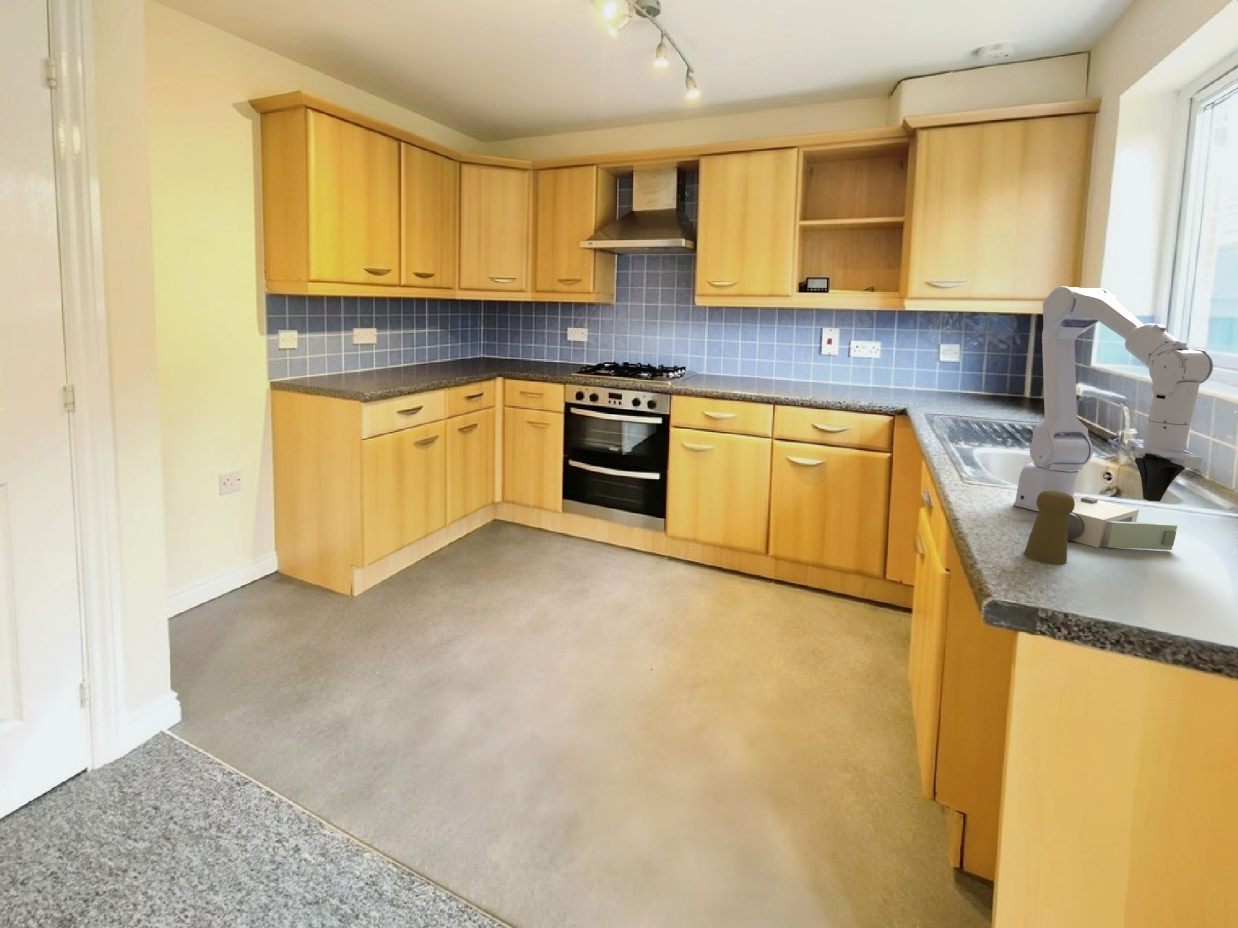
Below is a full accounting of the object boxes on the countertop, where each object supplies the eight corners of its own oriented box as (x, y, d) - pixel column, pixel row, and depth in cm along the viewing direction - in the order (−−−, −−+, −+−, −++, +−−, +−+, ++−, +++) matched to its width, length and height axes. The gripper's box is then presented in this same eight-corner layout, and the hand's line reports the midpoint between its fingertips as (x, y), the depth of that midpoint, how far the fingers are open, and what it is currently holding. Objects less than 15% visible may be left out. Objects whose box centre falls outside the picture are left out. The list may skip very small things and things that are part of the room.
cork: (1027, 548, 117) (1039, 485, 115) (1069, 557, 114) (1082, 492, 111) (1020, 557, 113) (1032, 492, 110) (1063, 567, 109) (1077, 499, 107)
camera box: (1033, 532, 126) (1038, 502, 125) (1074, 520, 135) (1079, 492, 134) (1093, 549, 118) (1100, 517, 117) (1133, 535, 127) (1139, 506, 126)
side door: (1100, 545, 120) (1105, 520, 119) (1167, 548, 119) (1173, 524, 118) (1106, 548, 118) (1111, 523, 117) (1174, 551, 118) (1180, 526, 117)
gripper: (1115, 414, 124) (1100, 488, 127) (1177, 428, 110) (1158, 511, 113) (1155, 416, 124) (1139, 489, 127) (1222, 430, 110) (1202, 513, 113)
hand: (1151, 500), depth 120 cm, fingers closed
